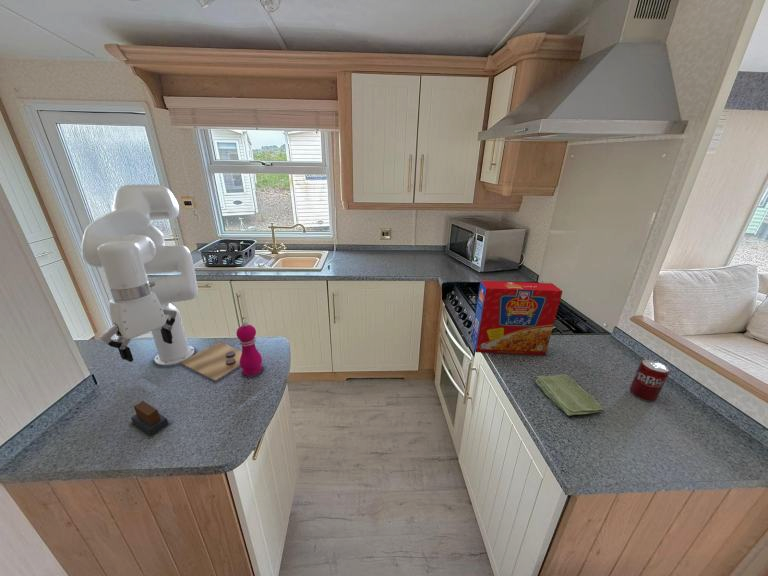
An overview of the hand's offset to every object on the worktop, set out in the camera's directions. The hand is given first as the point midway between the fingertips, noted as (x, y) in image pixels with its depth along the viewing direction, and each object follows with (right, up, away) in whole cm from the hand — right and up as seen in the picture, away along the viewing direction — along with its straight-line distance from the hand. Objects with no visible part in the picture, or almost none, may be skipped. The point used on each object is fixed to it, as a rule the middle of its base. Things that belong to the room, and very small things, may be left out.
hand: (149, 350), depth 82 cm
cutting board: (+1, -10, +31) cm, 33 cm away
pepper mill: (+16, -13, +26) cm, 34 cm away
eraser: (-3, -21, +4) cm, 22 cm away
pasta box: (+114, -8, +45) cm, 123 cm away
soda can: (+150, -19, +21) cm, 152 cm away
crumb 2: (+7, -10, +29) cm, 32 cm away
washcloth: (+123, -19, +19) cm, 126 cm away
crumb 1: (+5, -9, +34) cm, 35 cm away
